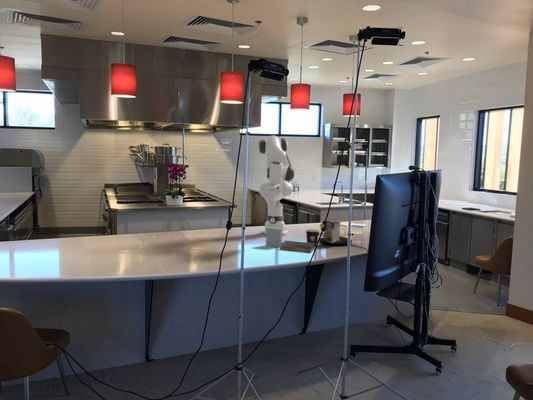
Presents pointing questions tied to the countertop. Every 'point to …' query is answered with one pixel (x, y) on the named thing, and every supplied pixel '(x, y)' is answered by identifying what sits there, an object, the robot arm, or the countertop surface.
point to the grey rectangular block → (273, 237)
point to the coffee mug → (312, 236)
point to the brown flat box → (297, 246)
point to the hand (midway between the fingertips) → (275, 207)
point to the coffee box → (331, 231)
